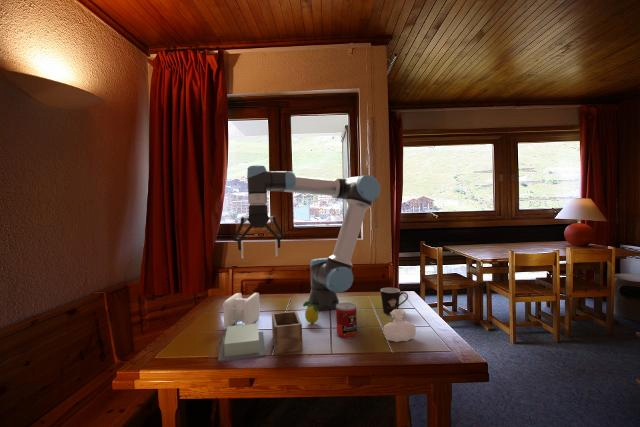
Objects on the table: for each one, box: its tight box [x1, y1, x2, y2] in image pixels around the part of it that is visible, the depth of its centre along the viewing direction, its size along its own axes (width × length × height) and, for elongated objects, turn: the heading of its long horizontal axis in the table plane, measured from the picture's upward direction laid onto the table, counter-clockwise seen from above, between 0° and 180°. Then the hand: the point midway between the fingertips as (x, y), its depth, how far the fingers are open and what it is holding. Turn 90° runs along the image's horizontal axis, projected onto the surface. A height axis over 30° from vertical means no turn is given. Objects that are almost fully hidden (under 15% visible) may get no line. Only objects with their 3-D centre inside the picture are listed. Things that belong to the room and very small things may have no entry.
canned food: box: [335, 302, 358, 339], centre depth 125 cm, size 8×8×11 cm
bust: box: [382, 308, 417, 343], centre depth 121 cm, size 12×8×11 cm
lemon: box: [302, 300, 319, 325], centre depth 137 cm, size 7×6×10 cm
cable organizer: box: [222, 292, 261, 328], centre depth 140 cm, size 15×11×12 cm
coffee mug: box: [380, 287, 409, 316], centre depth 148 cm, size 12×9×10 cm
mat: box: [217, 331, 266, 363], centre depth 118 cm, size 15×20×1 cm
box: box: [271, 310, 304, 354], centre depth 119 cm, size 9×14×9 cm, turn 12°
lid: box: [224, 322, 259, 357], centre depth 118 cm, size 11×16×4 cm
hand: (259, 257), depth 134 cm, fingers open, 13 cm apart
